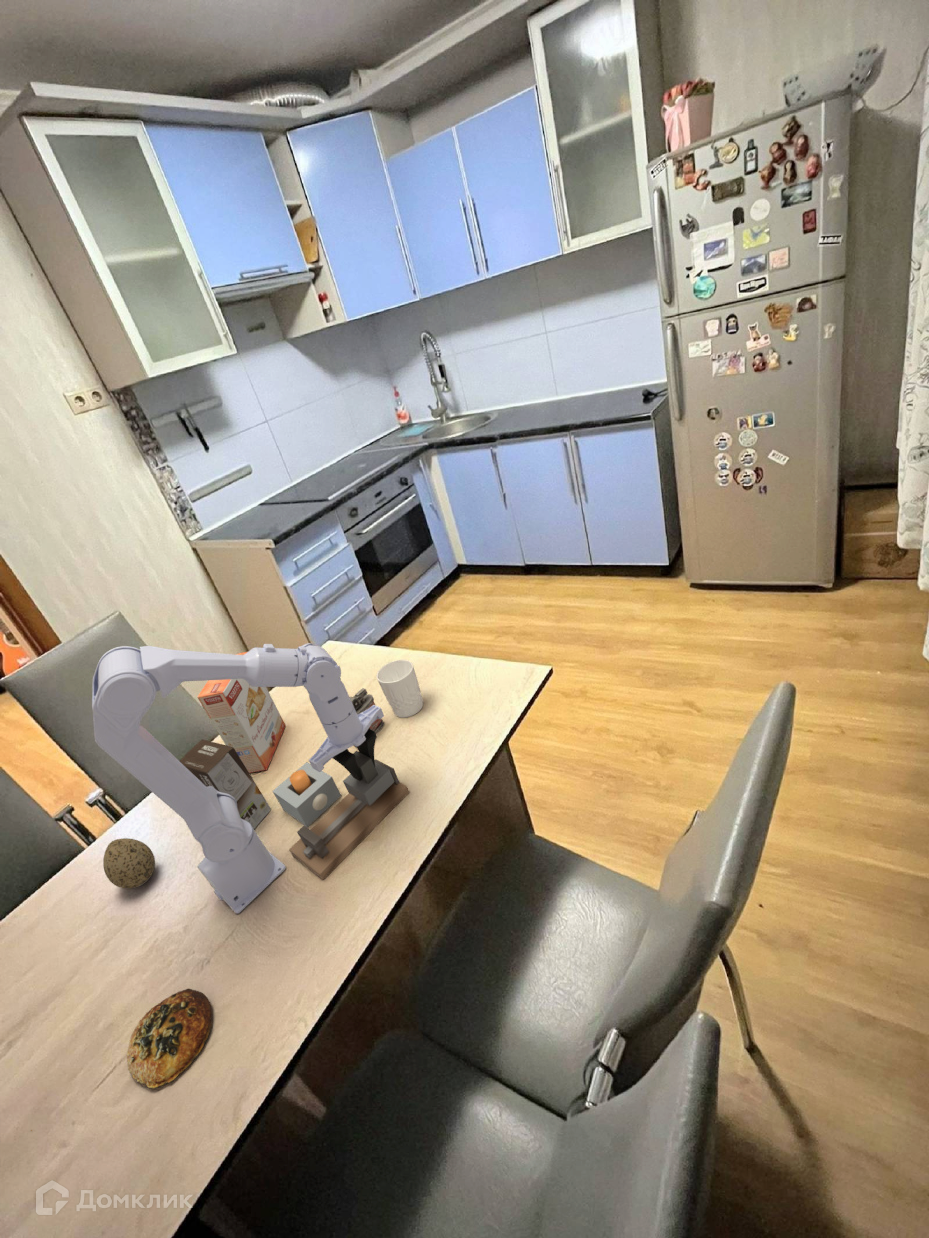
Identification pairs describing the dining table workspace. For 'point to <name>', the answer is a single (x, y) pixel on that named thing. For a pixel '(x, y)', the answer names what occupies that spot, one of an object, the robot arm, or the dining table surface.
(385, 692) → the white cup
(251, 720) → the cracker box
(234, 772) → the coffee box
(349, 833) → the rail
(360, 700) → the lighter
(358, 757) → the carriage
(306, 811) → the box
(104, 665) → the robot arm
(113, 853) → the decorative egg
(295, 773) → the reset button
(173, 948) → the dining table surface
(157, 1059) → the bread roll
